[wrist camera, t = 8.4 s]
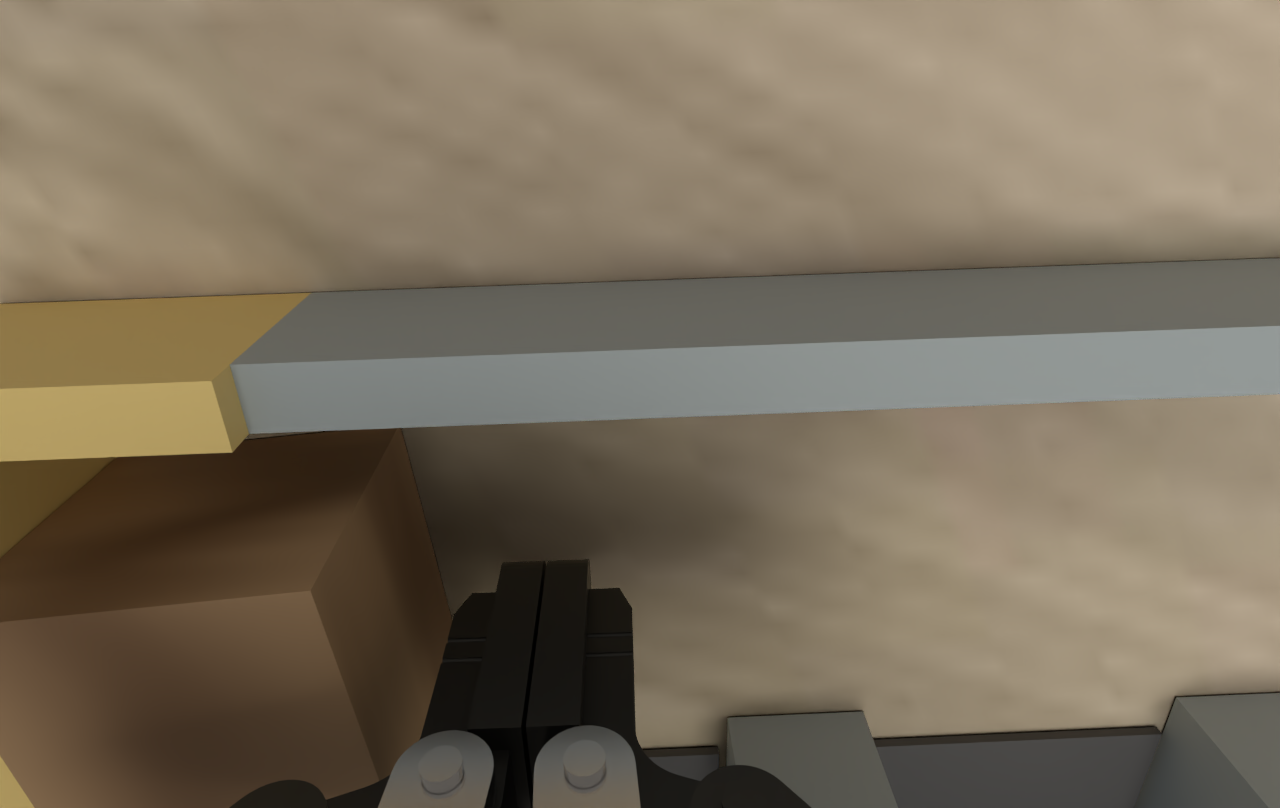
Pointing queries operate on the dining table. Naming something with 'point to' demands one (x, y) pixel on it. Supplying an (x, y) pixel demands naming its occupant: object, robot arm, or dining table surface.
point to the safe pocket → (114, 397)
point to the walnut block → (222, 626)
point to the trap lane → (821, 382)
